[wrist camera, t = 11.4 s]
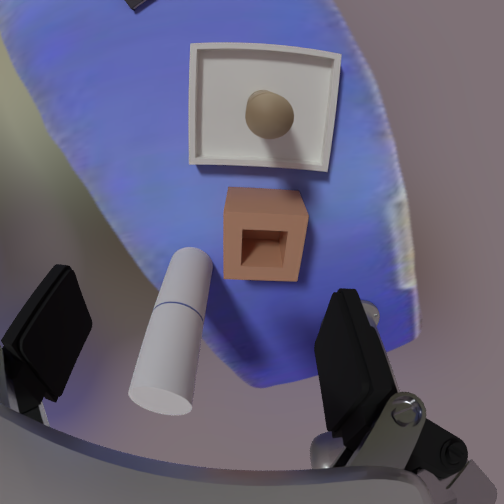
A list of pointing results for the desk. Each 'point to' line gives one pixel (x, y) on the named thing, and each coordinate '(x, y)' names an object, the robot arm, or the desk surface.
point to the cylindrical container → (174, 336)
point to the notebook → (134, 3)
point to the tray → (247, 82)
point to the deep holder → (263, 234)
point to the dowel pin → (268, 114)
